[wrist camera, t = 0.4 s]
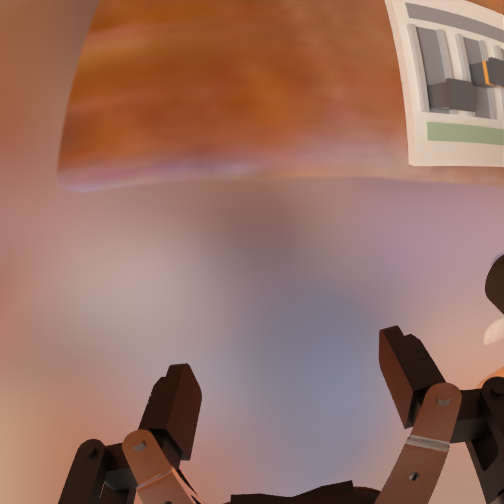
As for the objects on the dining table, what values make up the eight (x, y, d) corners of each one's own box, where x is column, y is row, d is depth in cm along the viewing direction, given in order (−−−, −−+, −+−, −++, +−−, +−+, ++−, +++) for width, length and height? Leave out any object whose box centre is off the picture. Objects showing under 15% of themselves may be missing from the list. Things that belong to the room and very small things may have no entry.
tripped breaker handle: (466, 62, 27) (491, 57, 22) (484, 66, 27) (509, 62, 21) (470, 87, 28) (496, 84, 23) (488, 90, 28) (513, 89, 23)
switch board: (380, -14, 26) (403, -38, 18) (502, 19, 24) (532, 11, 17) (409, 164, 35) (441, 173, 28) (521, 166, 34) (555, 176, 26)
